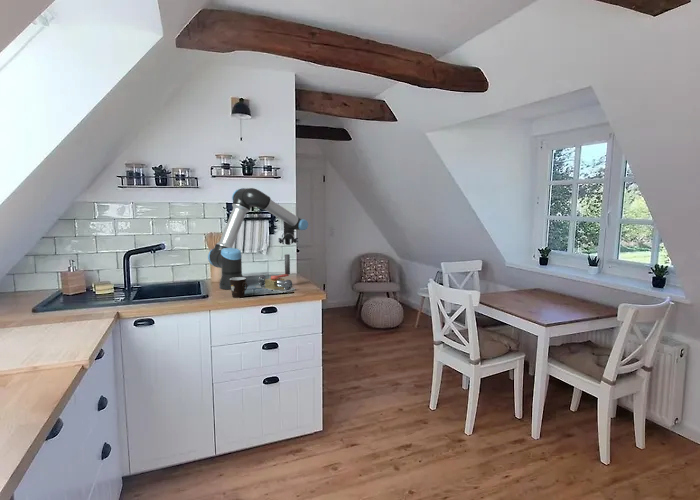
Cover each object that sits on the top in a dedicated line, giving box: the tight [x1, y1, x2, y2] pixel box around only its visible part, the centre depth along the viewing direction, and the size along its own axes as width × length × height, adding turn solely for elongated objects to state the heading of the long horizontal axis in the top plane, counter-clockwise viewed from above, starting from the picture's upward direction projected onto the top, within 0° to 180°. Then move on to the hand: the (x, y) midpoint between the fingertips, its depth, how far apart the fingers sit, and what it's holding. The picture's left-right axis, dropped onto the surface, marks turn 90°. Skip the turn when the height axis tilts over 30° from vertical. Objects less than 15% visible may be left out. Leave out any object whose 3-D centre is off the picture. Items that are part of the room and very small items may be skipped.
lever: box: [270, 254, 291, 279], centre depth 247 cm, size 14×4×13 cm, turn 142°
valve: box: [254, 275, 296, 294], centre depth 244 cm, size 24×10×7 cm, turn 52°
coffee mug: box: [230, 276, 248, 299], centre depth 222 cm, size 12×9×10 cm
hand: (287, 242), depth 261 cm, fingers open, 3 cm apart
